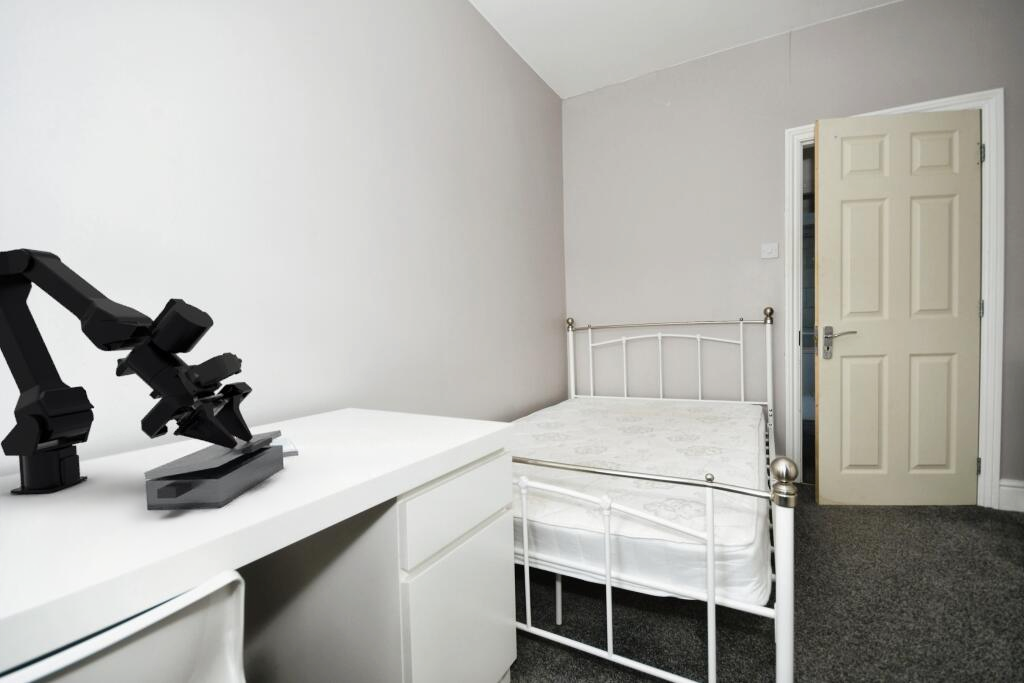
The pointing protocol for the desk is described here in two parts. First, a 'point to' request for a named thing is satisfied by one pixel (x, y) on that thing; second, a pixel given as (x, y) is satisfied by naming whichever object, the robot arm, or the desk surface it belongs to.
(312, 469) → the desk surface
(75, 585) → the desk surface
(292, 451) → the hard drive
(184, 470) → the box lid
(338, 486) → the desk surface
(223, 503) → the grey hinged box
